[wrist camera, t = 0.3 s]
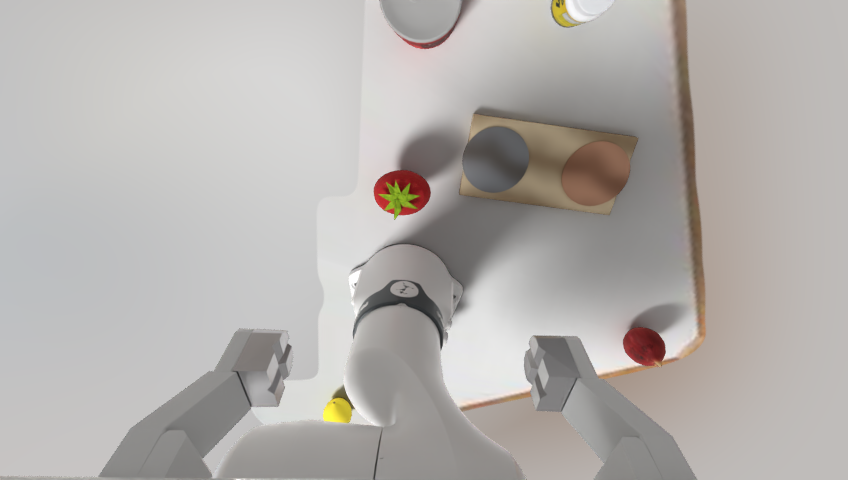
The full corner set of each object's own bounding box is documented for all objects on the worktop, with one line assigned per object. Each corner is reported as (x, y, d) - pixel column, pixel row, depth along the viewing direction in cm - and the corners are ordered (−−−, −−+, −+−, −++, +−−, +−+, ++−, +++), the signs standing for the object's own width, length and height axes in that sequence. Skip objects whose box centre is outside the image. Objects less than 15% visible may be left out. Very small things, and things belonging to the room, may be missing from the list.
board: (609, 212, 53) (613, 216, 52) (455, 191, 52) (456, 194, 51) (637, 137, 48) (643, 138, 47) (469, 113, 48) (470, 114, 46)
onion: (611, 343, 63) (633, 378, 56) (620, 316, 61) (645, 349, 53) (644, 345, 63) (671, 380, 56) (654, 318, 61) (684, 352, 53)
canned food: (398, -34, 41) (385, -68, 31) (464, -16, 42) (473, -43, 32) (385, 40, 44) (370, 30, 34) (447, 56, 45) (451, 51, 35)
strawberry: (431, 201, 53) (429, 227, 44) (380, 200, 53) (369, 226, 44) (431, 161, 51) (430, 180, 42) (378, 161, 51) (365, 180, 42)
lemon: (356, 410, 73) (350, 437, 69) (330, 410, 74) (323, 436, 69) (351, 390, 70) (345, 416, 65) (324, 389, 70) (316, 416, 65)
